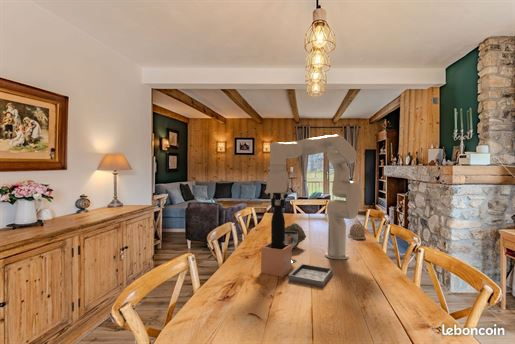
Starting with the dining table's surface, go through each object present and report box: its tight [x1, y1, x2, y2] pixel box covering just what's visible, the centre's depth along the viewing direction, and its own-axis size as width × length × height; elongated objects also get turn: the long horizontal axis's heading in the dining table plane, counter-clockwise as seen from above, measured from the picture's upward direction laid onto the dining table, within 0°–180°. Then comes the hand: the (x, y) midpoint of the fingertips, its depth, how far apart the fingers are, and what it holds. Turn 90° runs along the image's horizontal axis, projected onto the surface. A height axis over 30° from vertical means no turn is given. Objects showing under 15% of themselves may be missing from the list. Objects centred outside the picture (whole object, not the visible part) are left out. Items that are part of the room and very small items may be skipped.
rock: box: [285, 222, 307, 249], centre depth 184 cm, size 18×14×15 cm
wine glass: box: [285, 231, 298, 264], centre depth 160 cm, size 8×8×15 cm
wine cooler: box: [260, 241, 293, 278], centre depth 144 cm, size 11×11×12 cm
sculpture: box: [347, 223, 366, 240], centre depth 218 cm, size 12×17×10 cm
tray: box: [287, 263, 333, 288], centre depth 137 cm, size 18×15×2 cm
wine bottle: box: [270, 193, 286, 249], centre depth 144 cm, size 6×6×30 cm
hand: (278, 207), depth 144 cm, fingers closed on wine bottle, 3 cm apart
